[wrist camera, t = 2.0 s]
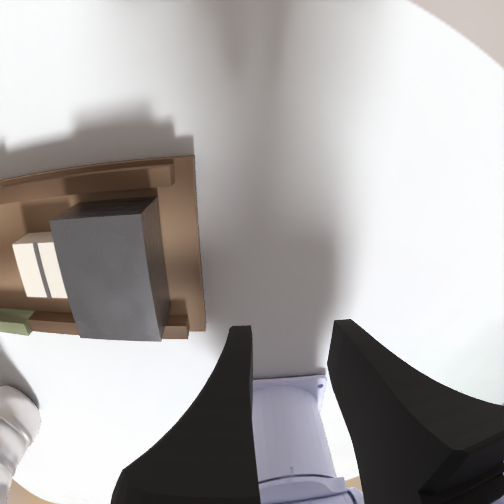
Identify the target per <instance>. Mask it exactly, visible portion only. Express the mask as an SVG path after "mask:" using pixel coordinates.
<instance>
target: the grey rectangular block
mask: <svg viewBox="0 0 504 504" xmlns="http://www.w3.org/2000/svg"><path fill="white" fill-rule="evenodd" d="M49 223H50V228H51V233H52V238H53V243H54V247H55V252H56V256H57V260H58V264H59V268H60V272H61V276H62V280H63V283H64V287H65V291H66V294H67V298H68V301H69V304H70V308H71V311H72V314H73V317H74V320H75V323H76V326H77V329H78V332H79V335H80V338H91V339H107V340H128V341H161V340H162V337H163V333H164V330H165V326H166V323H167V319H168V316H169V312H170V309H171V303H170V296H169V290H168V282H167V275H166V268H165V260H164V252H163V243H162V234H161V225H160V215H159V204H158V196H152V197H137V198H123V199H111V200H99V201H88V202H78V203H77V204H75V205H73V206H72V207H70V208H68V209H67V210H65V211H64V212H62V213H60V214H59V215H57V216H56V217H54V218H53V219H51V220H50V221H49Z"/></svg>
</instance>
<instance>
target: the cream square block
mask: <svg viewBox="0 0 504 504" xmlns="http://www.w3.org/2000/svg"><path fill="white" fill-rule="evenodd" d="M12 246H13V250H14V254H15V258H16V261H17V265H18V269H19V272H20V276H21V279H22V282H23V285H24V289H25V292H26V295H27V297H47V298H67V294H66V291H65V287H64V283H63V280H62V276H61V272H60V268H59V264H58V260H57V256H56V252H55V247H54V243H53V238H52V233H51V232H37V233H28V234H26V235H25V236H24V237H22V238H21V239H19V240H18V241H16V242H15V243H14V244H12Z"/></svg>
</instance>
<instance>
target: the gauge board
mask: <svg viewBox="0 0 504 504" xmlns="http://www.w3.org/2000/svg"><path fill="white" fill-rule="evenodd" d="M152 196H158V204H159V215H160V225H161V234H162V243H163V252H164V260H165V268H166V275H167V282H168V290H169V296H170V303H171V309H170V312H169V316H168V319H167V323H166V326H165V330H164V333H163V337H162V339H188V335H189V331H205V330H206V314H205V304H204V293H203V282H202V270H201V257H200V244H199V230H198V214H197V197H196V178H195V155H192V156H175V157H161V158H149V159H138V160H128V161H118V162H110V163H101V164H93V165H86V166H79V167H72V168H65V169H59V170H52V171H46V172H41V173H35V174H30V175H24V176H19V177H14V178H9V179H4V180H0V332H6V333H13V334H20V335H28V336H29V335H30V333H31V332H32V331H38V332H48V333H59V334H71V335H79V332H78V329H77V326H76V323H75V320H74V317H73V314H72V311H71V308H70V304H69V301H68V298H47V297H27V295H26V292H25V289H24V285H23V282H22V279H21V276H20V272H19V269H18V265H17V261H16V258H15V254H14V250H13V246H12V244H14V243H15V242H16V241H18V240H19V239H21V238H22V237H24V236H25V235H26V234H28V233H37V232H51V228H50V223H49V221H50V220H51V219H53V218H54V217H56V216H57V215H59V214H60V213H62V212H64V211H65V210H67V209H68V208H70V207H72V206H73V205H75V204H77V203H78V202H88V201H99V200H111V199H123V198H137V197H152Z"/></svg>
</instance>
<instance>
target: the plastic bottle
mask: <svg viewBox="0 0 504 504" xmlns="http://www.w3.org/2000/svg"><path fill="white" fill-rule="evenodd" d="M40 425H41V417H40V412H39V410H38V408H37V407H36V405H35V404H34V403H33V402H32V401H31V400H30V399H29V398H28V397H27V396H26V395H25V394H23V393H22V392H20V391H19V390H17V389H15V388H13V387H11V386H6V385H5V386H0V503H3V504H6V503H7V497H8V492H9V488H10V485H11V482H12V477H13V476H14V473H15V470H16V468H17V466H18V464H19V462H20V461H21V459H22V457H23V455H24V453H25V452H26V450H27V448H28V447H29V446H30V445H31V444H32V442H33V441H34V440H35V438H36V437H37V435H38V434H39V429H40Z"/></svg>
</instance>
